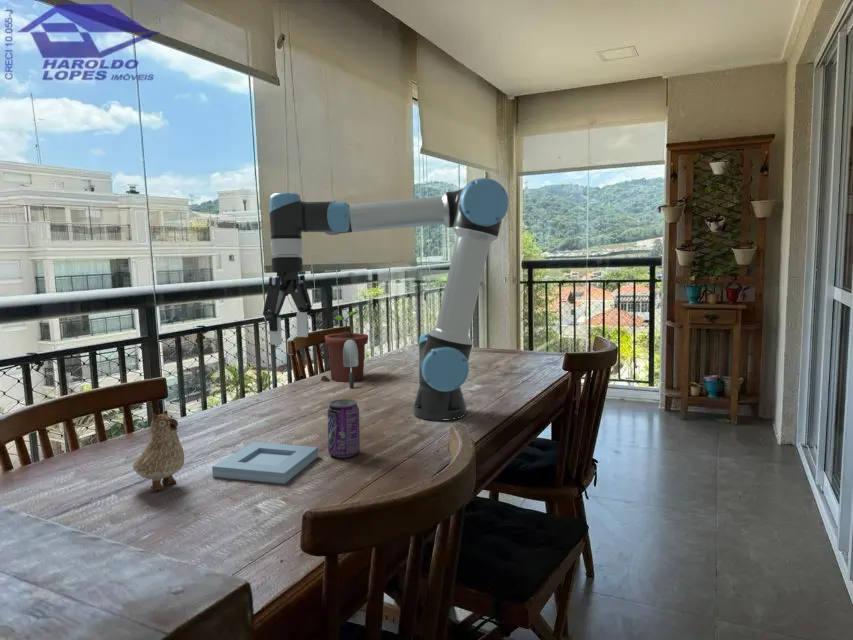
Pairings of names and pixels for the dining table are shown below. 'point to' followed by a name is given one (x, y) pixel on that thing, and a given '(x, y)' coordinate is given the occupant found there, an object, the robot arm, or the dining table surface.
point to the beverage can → (343, 428)
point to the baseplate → (266, 462)
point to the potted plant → (346, 355)
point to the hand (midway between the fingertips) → (289, 340)
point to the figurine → (161, 453)
